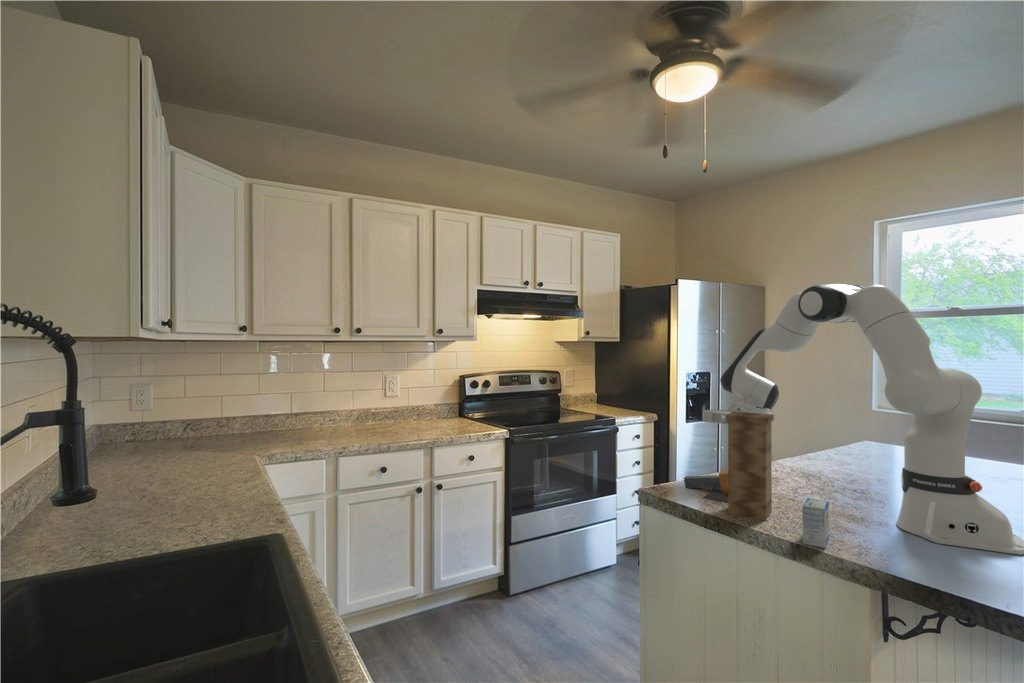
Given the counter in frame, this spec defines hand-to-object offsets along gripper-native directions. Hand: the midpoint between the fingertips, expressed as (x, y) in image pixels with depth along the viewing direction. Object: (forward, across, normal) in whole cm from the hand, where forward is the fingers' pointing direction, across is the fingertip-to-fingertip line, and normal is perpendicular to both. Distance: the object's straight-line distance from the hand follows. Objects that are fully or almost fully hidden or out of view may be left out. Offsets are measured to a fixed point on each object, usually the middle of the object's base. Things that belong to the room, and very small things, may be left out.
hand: (730, 421), depth 151 cm
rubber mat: (+5, 0, +21) cm, 22 cm away
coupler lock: (+3, -4, +18) cm, 19 cm away
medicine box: (+30, +25, +21) cm, 45 cm away
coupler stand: (+19, +9, +21) cm, 30 cm away
